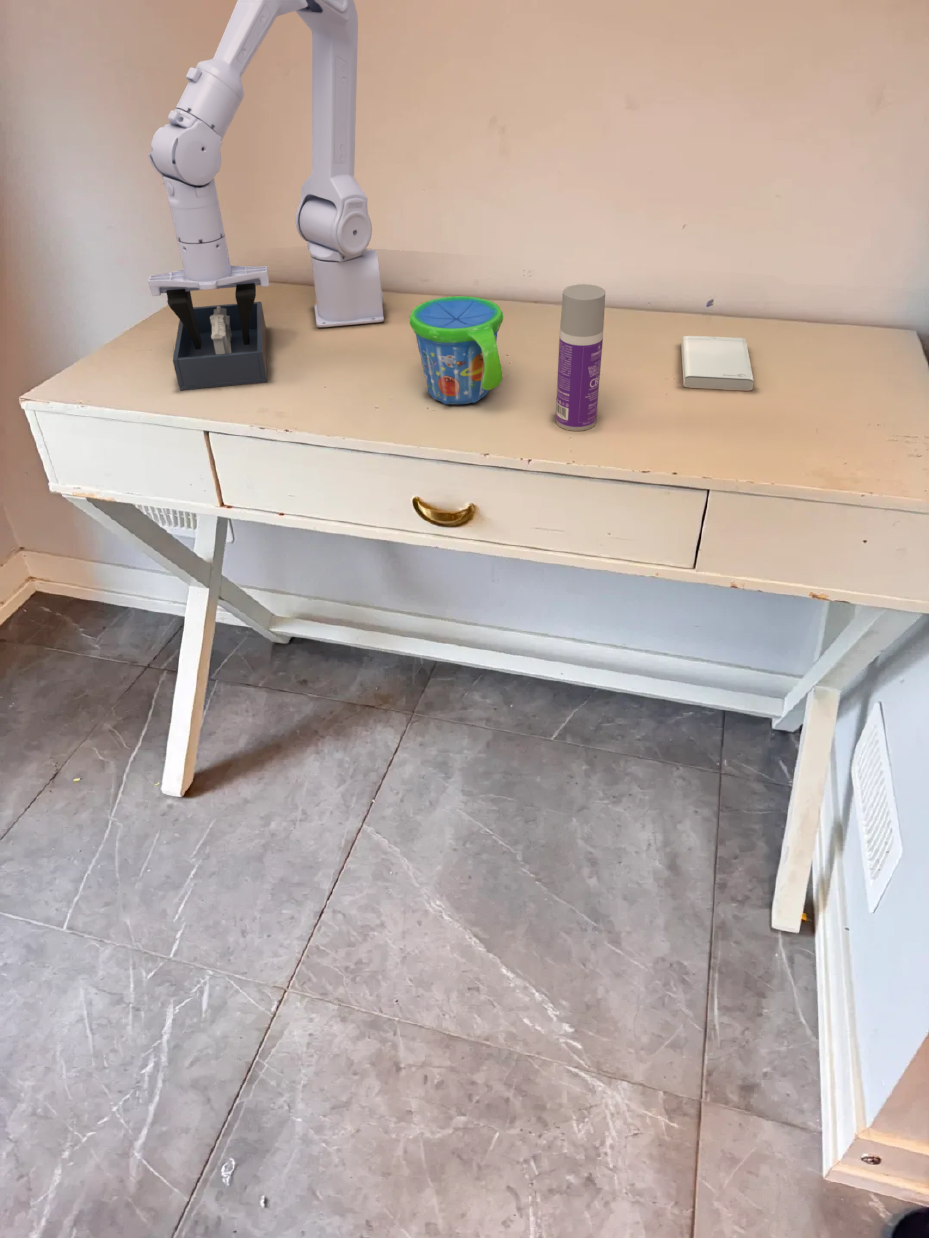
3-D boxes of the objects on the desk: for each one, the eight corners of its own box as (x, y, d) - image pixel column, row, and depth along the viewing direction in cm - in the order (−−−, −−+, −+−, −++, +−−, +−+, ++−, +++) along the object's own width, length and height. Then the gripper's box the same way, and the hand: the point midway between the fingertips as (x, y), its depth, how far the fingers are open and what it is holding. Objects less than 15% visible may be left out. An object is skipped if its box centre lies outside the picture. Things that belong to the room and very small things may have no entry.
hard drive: (754, 379, 107) (746, 336, 116) (684, 375, 108) (682, 334, 117) (751, 392, 108) (744, 349, 117) (682, 388, 109) (680, 346, 118)
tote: (266, 329, 126) (261, 301, 123) (267, 382, 113) (262, 352, 110) (187, 336, 124) (181, 308, 122) (179, 390, 111) (172, 360, 109)
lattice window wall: (220, 337, 123) (211, 294, 119) (233, 336, 123) (225, 293, 119) (217, 374, 114) (208, 329, 110) (232, 373, 114) (222, 328, 110)
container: (594, 432, 101) (604, 301, 91) (552, 429, 102) (559, 298, 92) (597, 413, 104) (608, 284, 95) (557, 410, 105) (564, 282, 96)
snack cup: (394, 378, 113) (388, 298, 106) (469, 361, 116) (467, 282, 110) (446, 430, 102) (443, 345, 96) (527, 410, 105) (529, 326, 99)
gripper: (136, 252, 105) (163, 362, 113) (261, 242, 106) (279, 351, 115) (142, 233, 110) (168, 340, 119) (261, 224, 112) (278, 330, 120)
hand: (222, 344), depth 117 cm, fingers open, 6 cm apart
